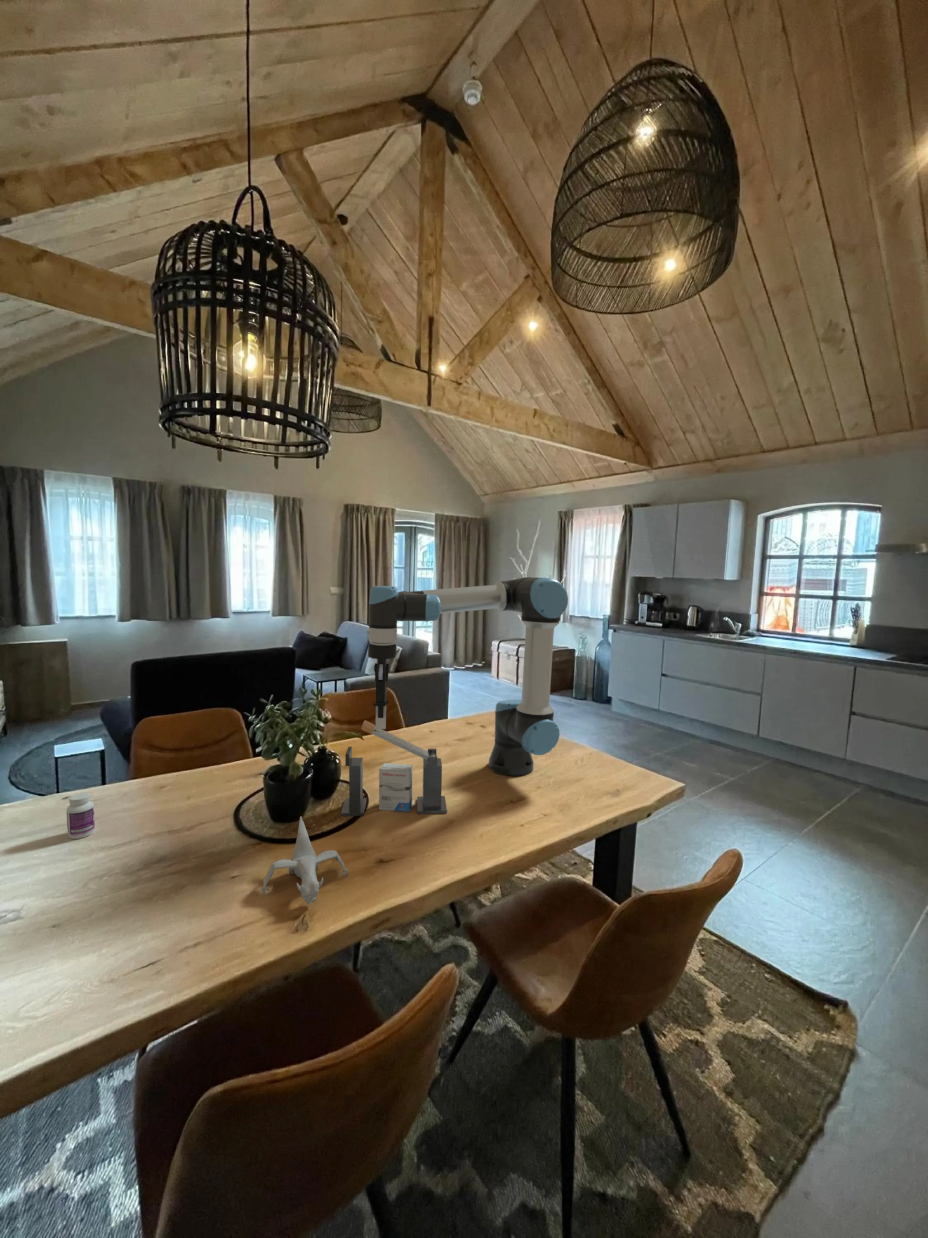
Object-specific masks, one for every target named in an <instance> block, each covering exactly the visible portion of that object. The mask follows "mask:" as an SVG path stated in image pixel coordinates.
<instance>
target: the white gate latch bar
mask: <svg viewBox="0 0 928 1238" xmlns="http://www.w3.org/2000/svg"><path fill="white" fill-rule="evenodd" d="M360 730H362V731H363V732H366V733H368V734H370V735H373V736H375V737H378V738H380V739H382V740H384V741H386V742H388V743H391V744H392V745H394V746H397V747H399V748H401V749H403V750H405V751H407V752H409V753H412V754H414V755H416V756H417V757H420V758H422V759H423V758H424V759H426V760H427V759H428V757H429V756H435V753H434V752H431V753H430V754H428V750H426V749H423V748H421V747H420V746H417V745H415V744H413V743H412V742H409V741H407V740H404V739H402V738H400V737H398V736H396V735H394V734H392V733H390V732H388V731H386V730H385V729H375V724H374V723H372V722H370V721H368V720H365V719H364V721H363V723H362V726H361V729H360Z"/></svg>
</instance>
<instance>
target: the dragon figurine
mask: <svg viewBox="0 0 928 1238" xmlns="http://www.w3.org/2000/svg"><path fill="white" fill-rule="evenodd" d="M306 828H307V827H306V826H305V822H304V821H303V816H300V817H299V823H298V829H297V830H298V831H297V836H296V841H295V845H294V848H293V853H292V857H291V859H279V860H277V861H274V862H273V863H272V864H271V865H270V867H269V869H268V871H267V874H266V876H265V877H264V878H263V879H262V881H263V885H262V887H261V891H260V892H262V895H264V896H265V895H266V891H269V892H270V889H269V888H268V886H267V885H268V883H269V881H270V880H271V878H272V877H273V875H274V872H275V870H281V869H285V868H287V869H288V875H293V874H295V875H296V877H297V878H298V877H299V878H300V879H301V885H299V883H298V882H296V883H295V884H296V887H297V890H298V891H299V892H300V896H301V898H303V900H304V902H305V903H306V904H312V903H314V902H315V901H316V899H317V896H318V894H319V890H320V889H321V886H322V885H323V883H324V877H322V878H321V880H320V881H318V878H317V872H316V870H317V869H319V864H320V863H323V862H325V861H326V860H329V859H334V860H335V862H337V863H339V864H340V865H341V867H342V869H343V872H342V873H341V876H343V875H344V877H345V878H347V877H348V873H349V872H348V869H347V867H346V866H345V862H344V861H342V858H341V857H340V855H339V854H340V853H338V852H337V850H334V849H333V850H329V849H328V850H325V851H322V852H320V853H318V855H317V854H316V851H315V849H314V848H313V846H312V843H311V840H310V838H309V834H308V831H307V829H306Z"/></svg>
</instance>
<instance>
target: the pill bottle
mask: <svg viewBox="0 0 928 1238" xmlns="http://www.w3.org/2000/svg"><path fill="white" fill-rule="evenodd" d="M94 804H95V803H94V802H93V801H92V800H91V794H90V793H89V792H81V793H77V794H76V793H75V794H72V796H69V805H68V807H67V808H66V823H67V824H66V826H67V836H68V838H69V839H71V840H79V839H83V838H86V837H89V836H90V835H93V834H94V832H95V831H96V826H95V825H96V824H95V821H96V820H95V805H94Z"/></svg>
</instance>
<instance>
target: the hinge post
mask: <svg viewBox="0 0 928 1238" xmlns="http://www.w3.org/2000/svg"><path fill="white" fill-rule="evenodd" d="M427 751H428V754H430V753H431V752H434V753H435V756H429V757H428V759H427V760H426V759H424V758H422V796H417V797H416V798H417V799H416V802H417V803H416V804H417V806H416V808H417V809H416V810H417V815H435V814H436V815H437V814H438V815H439V814H446V815H447V814H448V810H447V801H446V796H445V795H442V787H443V786H442V785H443V784H442V779H443V777H442V776H443V775H442V774H443V765H442V758H441V757H439V758H438V756H437V748H427Z"/></svg>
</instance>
